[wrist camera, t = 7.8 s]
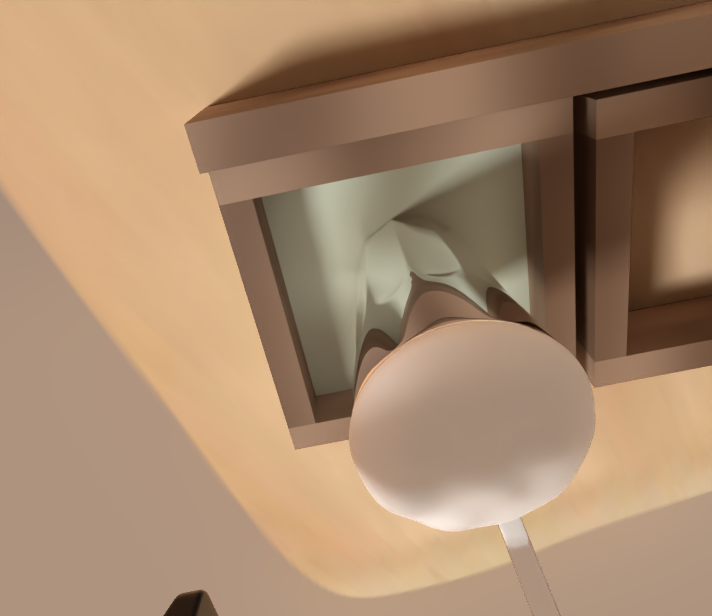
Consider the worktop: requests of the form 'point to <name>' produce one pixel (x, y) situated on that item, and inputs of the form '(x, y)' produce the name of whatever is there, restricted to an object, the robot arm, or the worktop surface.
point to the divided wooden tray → (461, 195)
